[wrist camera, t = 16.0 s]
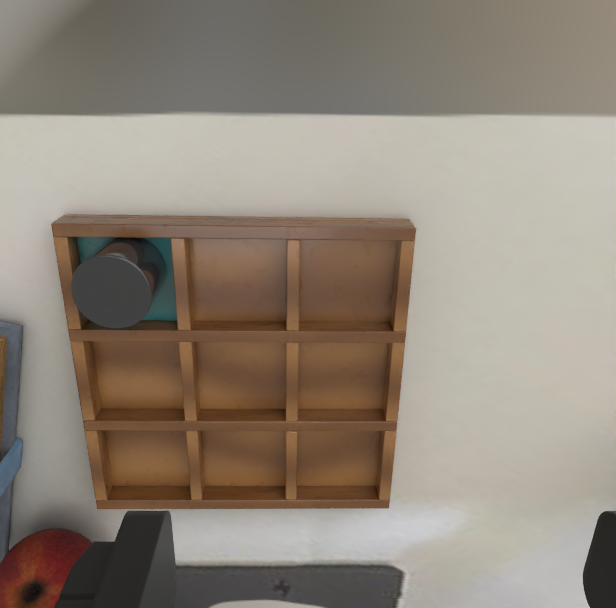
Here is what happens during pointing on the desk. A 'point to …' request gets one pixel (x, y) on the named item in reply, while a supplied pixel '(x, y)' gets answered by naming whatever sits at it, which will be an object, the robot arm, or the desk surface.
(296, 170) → the desk surface
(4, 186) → the desk surface
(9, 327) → the book
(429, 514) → the desk surface
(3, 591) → the apple
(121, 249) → the dark grey cylinder
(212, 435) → the board
